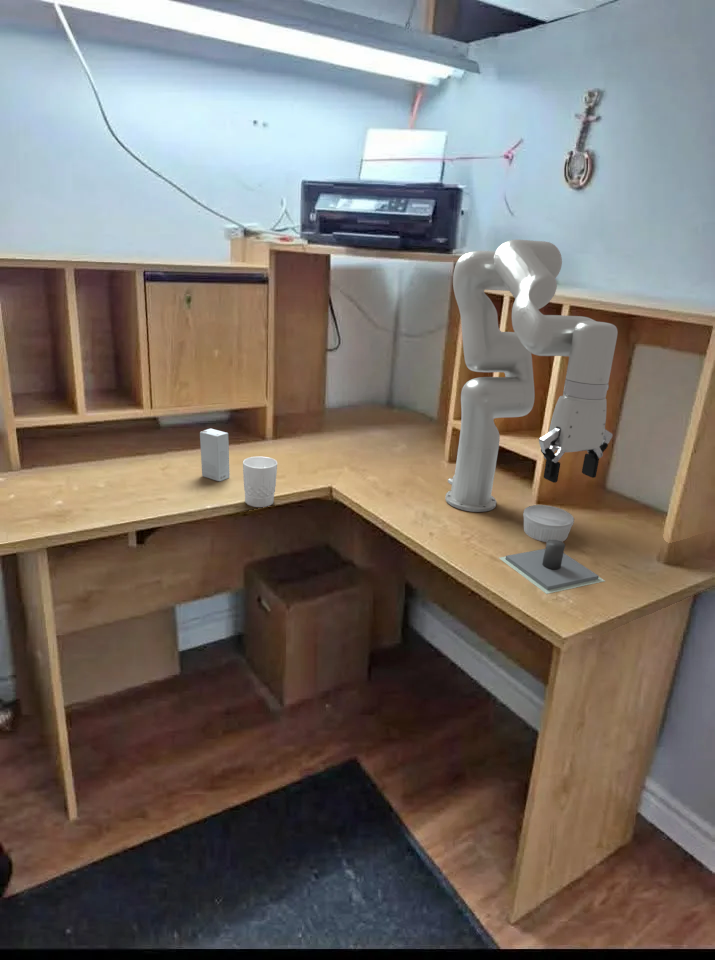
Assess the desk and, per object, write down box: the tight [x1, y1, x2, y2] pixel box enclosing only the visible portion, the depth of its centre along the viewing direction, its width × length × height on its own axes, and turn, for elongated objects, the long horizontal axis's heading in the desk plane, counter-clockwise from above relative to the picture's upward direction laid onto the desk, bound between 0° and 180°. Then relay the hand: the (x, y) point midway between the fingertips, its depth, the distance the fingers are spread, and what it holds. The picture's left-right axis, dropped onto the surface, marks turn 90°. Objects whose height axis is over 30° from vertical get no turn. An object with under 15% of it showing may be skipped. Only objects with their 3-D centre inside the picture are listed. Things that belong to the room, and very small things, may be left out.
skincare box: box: [199, 428, 231, 482], centre depth 168 cm, size 6×4×12 cm
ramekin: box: [522, 504, 575, 543], centre depth 151 cm, size 11×11×5 cm
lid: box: [505, 540, 600, 590], centre depth 134 cm, size 13×13×6 cm
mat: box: [498, 555, 606, 595], centre depth 135 cm, size 15×15×1 cm
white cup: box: [242, 456, 278, 508], centre depth 156 cm, size 8×8×10 cm
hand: (569, 477), depth 128 cm, fingers open, 9 cm apart
